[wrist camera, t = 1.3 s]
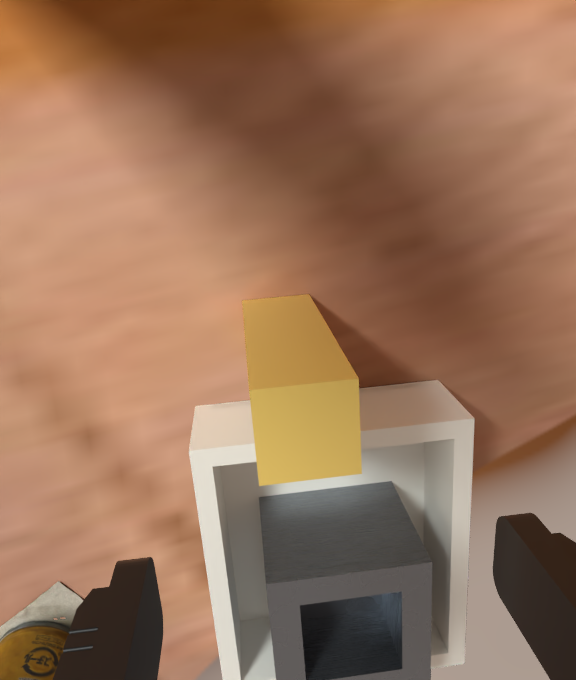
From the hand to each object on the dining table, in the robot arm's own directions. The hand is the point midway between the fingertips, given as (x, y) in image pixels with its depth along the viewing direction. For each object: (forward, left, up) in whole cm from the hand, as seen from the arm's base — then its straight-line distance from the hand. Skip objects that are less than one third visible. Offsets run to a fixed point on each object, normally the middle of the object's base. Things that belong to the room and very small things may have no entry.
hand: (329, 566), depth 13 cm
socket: (+14, +2, -18) cm, 22 cm away
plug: (0, 0, -18) cm, 18 cm away
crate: (+12, +2, -18) cm, 22 cm away
